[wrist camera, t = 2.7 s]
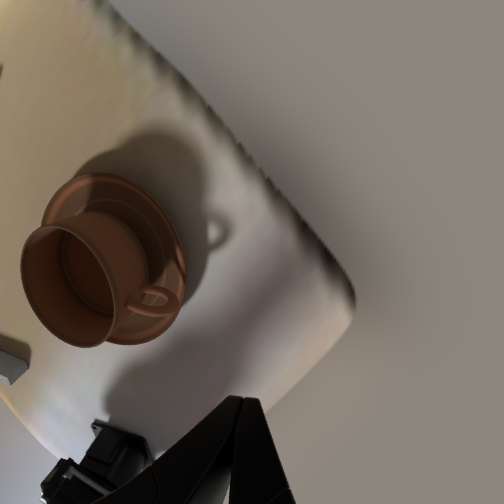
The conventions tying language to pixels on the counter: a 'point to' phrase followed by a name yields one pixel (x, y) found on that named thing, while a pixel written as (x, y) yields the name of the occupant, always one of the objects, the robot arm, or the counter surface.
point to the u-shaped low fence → (11, 368)
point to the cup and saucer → (104, 264)
